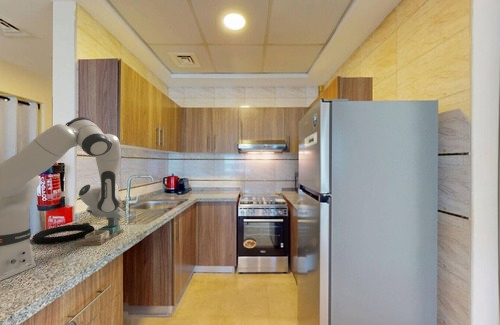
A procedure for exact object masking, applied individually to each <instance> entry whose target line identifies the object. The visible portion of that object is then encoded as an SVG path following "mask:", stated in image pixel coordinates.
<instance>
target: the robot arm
mask: <svg viewBox="0 0 500 325" xmlns="http://www.w3.org/2000/svg"><path fill="white" fill-rule="evenodd" d="M77 146H78V147H80V148H81V149H82V151H83V152H84V153H85V154H87V155H89V156H91V157H95V162H96V166H97V170H98V175H99V179H100V180H99V181H100V184H86V185H84V186H83V187H81V188H80V190H79V192H78V197H79V199H80V200H81V201H82V202H83V203H84V204H85V205H86V206H87V208H86V210H85V211H86V212H87V213H89V214H90V215H92V217H95V218H102V219H104V220H106V221H108V217H110V218H118V220H119V222H120V221H121V222H122V221H123V217H124V216H125V214H126V212H125V211H124V210H123V209H122V208H121V207H120V201H119V200H120V198H119V197H120V196H119V194H120V193H119V192H120V191H119V188H120V187H119V185H118V184H117V183H116V181H117V177H118V173H119V168H120V165H121V159H122V150H121V142H120V140H119V138H118V136H116V135H114V134H112V133H104V132H103V131H102V129H101V128H100V127H99V126H98V125H97V124H96V123H95V122H94V121H92V120H91V119H89V118H88V117H85V116H84V117H83V116H79V117H75V118H73V119H71V120H70V121H68V122H66V123H65V124H62V123H61V124H60V123H58V124H54V125H52V126H51V127H49V128H47V129H45V130H44V131H43V132H42V133H40V134H39V135H38V136H36V137H35V138H34V139H33V140H32V141H31V142H29V143H28V144H27V145H26V146H24V148H22V149H21V150H20V151H19V152H17V153H15V154H14V155H12V156H11V157H9V158H8V159H6V160H3V161H2V162H1V163H0V282H1V281H3V280H6V279H8V278H10V277H12V276H15V275H18V274H20V273H22V272H25V271H27V270H30V269H32V268H34V267H36V266H37V263H36V260H35V258H34V252H33V246H32V244H31V239H30V238H32V231H31V227H30V208H31V204H32V201H33V197H34V194H35V191H36V190H37V189H38V187H39V185H40V182H41V179H40V175H41V174H43V173H45V172H46V171H48V170H49V169H50V168H51V167H52V166H54V165H55V164H56V163H57V162H58V161H59V160H60V159H62V158H63V157H64V156H65V154H67V152H69V150H70V149H72V148H74V147H77Z"/></svg>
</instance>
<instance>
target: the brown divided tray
mask: <svg viewBox="0 0 500 325" xmlns="http://www.w3.org/2000/svg"><path fill="white" fill-rule="evenodd" d="M120 233H121V234H122V233H124V229H121V225H120V224H119V225H108V224H106V225H104V226H101V227H100V228H98V229H97V230H94V231H93V232H91V233H89V234H87V235H85V237H84V240H82V241H81V242H80V246H102V245H104V244H105V243H107V242H109V241H110V240H112V239H113V237H114V238H115V237H117V236H119V235H121V234H120ZM108 240H109V241H108Z"/></svg>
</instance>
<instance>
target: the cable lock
mask: <svg viewBox="0 0 500 325" xmlns="http://www.w3.org/2000/svg"><path fill="white" fill-rule="evenodd" d="M71 231H78V232H75V233H72V234H71V233H70V234H66V235H58V236H57V235H56V236H49V234H50V235H54V234H57V233H63V232H71ZM93 231H95V227H94V226H93V225H91V224H90V222H83V223H78V224H67V225H66V224H65V225H59V226H55V227H50V228H47V229H44V230H41V231H40V230H39V232H37V233H35V234H34V235H32V237H31V239H32V242H34V243H36V244H39V243H40V244H41V245H45V244H46V245H52V244H61V243H67V242H72V241H76V240H79V238H80V239H83V237H84V238H85V235H87V234H89V233H91V232H93ZM44 236H45V237H44Z"/></svg>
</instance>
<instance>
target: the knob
mask: <svg viewBox="0 0 500 325" xmlns="http://www.w3.org/2000/svg"><path fill="white" fill-rule="evenodd" d="M119 222H120V221H119V220H118V218H110V217H108V220H107V225H120V224H119Z"/></svg>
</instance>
